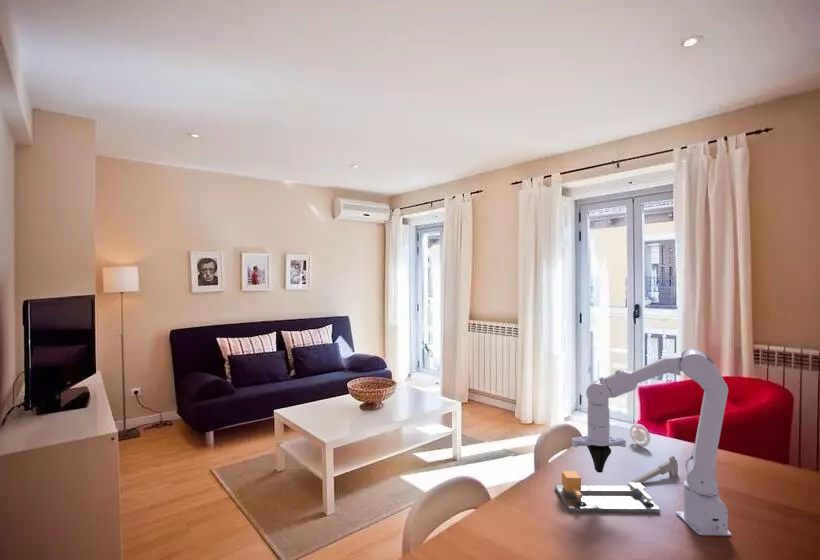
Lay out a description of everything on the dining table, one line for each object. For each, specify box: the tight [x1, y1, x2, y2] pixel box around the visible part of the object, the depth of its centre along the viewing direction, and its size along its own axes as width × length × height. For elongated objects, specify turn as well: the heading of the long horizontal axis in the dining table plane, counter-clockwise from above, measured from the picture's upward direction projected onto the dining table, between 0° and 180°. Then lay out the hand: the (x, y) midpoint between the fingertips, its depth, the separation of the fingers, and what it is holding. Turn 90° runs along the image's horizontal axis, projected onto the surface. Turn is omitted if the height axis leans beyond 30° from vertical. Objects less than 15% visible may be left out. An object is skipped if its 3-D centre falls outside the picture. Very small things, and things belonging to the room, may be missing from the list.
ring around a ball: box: [629, 423, 651, 448], centre depth 154 cm, size 8×6×8 cm
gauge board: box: [554, 482, 661, 514], centre depth 118 cm, size 12×24×3 cm, turn 88°
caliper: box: [626, 455, 679, 486], centre depth 129 cm, size 20×1×6 cm, turn 111°
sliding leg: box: [561, 470, 582, 504], centre depth 118 cm, size 8×4×5 cm, turn 178°
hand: (598, 470), depth 120 cm, fingers closed
